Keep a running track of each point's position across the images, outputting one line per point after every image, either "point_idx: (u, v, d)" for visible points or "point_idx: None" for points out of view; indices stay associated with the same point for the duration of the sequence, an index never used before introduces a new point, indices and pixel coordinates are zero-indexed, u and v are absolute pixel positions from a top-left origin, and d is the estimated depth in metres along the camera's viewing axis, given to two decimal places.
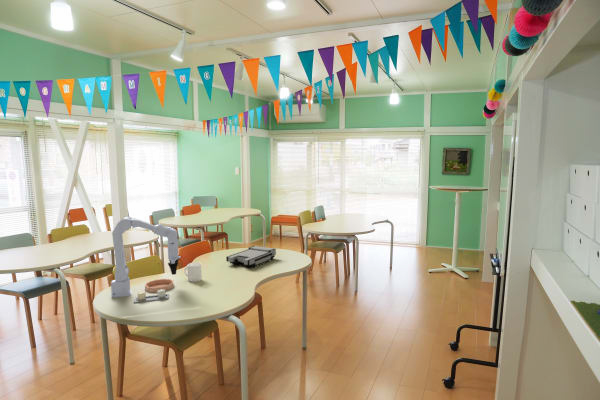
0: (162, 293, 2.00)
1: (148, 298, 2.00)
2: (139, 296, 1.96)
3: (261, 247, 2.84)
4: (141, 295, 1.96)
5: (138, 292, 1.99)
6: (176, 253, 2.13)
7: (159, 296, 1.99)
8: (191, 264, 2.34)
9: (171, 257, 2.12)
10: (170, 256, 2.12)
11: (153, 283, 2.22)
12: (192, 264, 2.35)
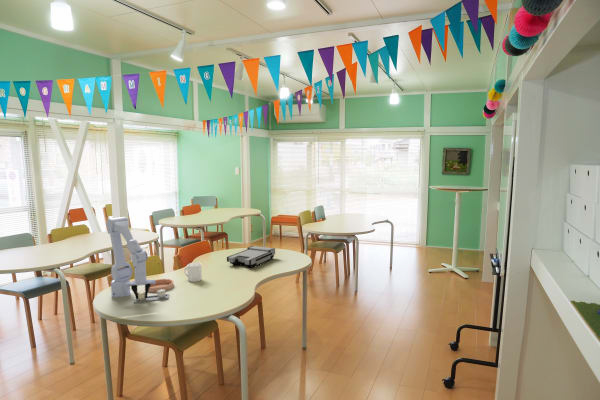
0: (162, 293, 2.00)
1: (148, 298, 2.00)
2: (139, 296, 1.96)
3: (260, 247, 2.84)
4: (141, 295, 1.96)
5: (138, 292, 1.99)
6: (135, 278, 1.95)
7: (159, 296, 1.99)
8: (191, 264, 2.34)
9: None
10: None
11: None
12: (192, 264, 2.35)
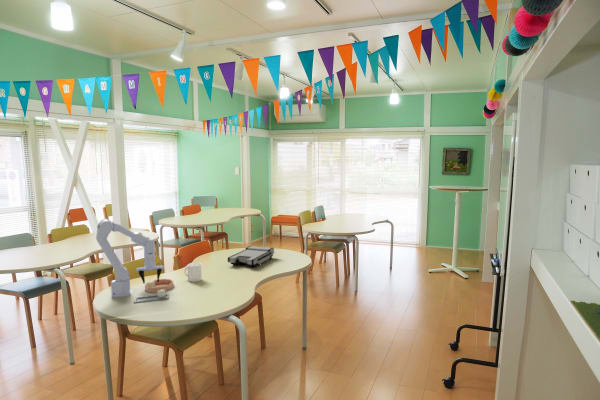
0: (162, 293, 2.00)
1: (148, 298, 2.00)
2: (149, 285, 2.14)
3: (258, 247, 2.85)
4: (150, 283, 2.14)
5: (148, 281, 2.17)
6: (145, 264, 2.12)
7: (159, 296, 1.99)
8: (191, 264, 2.34)
9: None
10: None
11: None
12: (192, 264, 2.35)
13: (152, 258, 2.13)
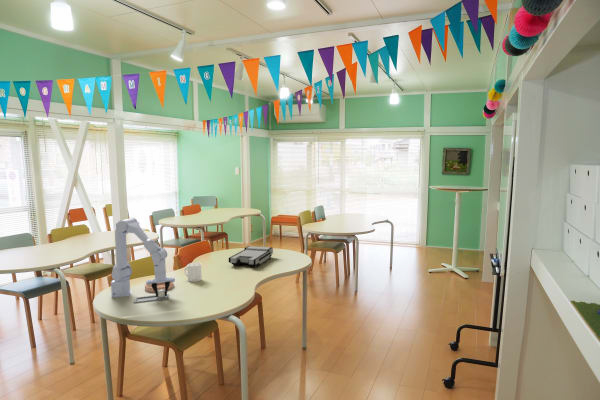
0: (162, 293, 2.00)
1: (148, 298, 2.00)
2: (149, 285, 2.14)
3: (257, 247, 2.85)
4: None
5: None
6: (156, 276, 1.98)
7: (159, 296, 1.99)
8: (191, 264, 2.34)
9: None
10: None
11: None
12: (192, 264, 2.35)
13: (158, 271, 1.97)
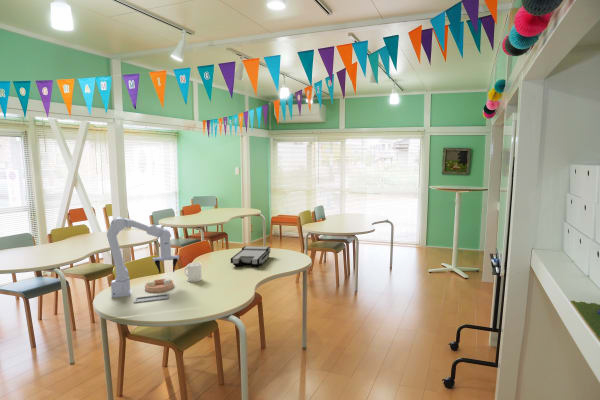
0: (168, 282, 2.17)
1: (148, 298, 2.00)
2: (149, 285, 2.14)
3: (254, 247, 2.86)
4: (150, 283, 2.14)
5: (148, 281, 2.17)
6: (162, 253, 2.15)
7: (165, 285, 2.17)
8: (191, 264, 2.34)
9: None
10: None
11: None
12: (192, 264, 2.35)
13: (168, 248, 2.15)
